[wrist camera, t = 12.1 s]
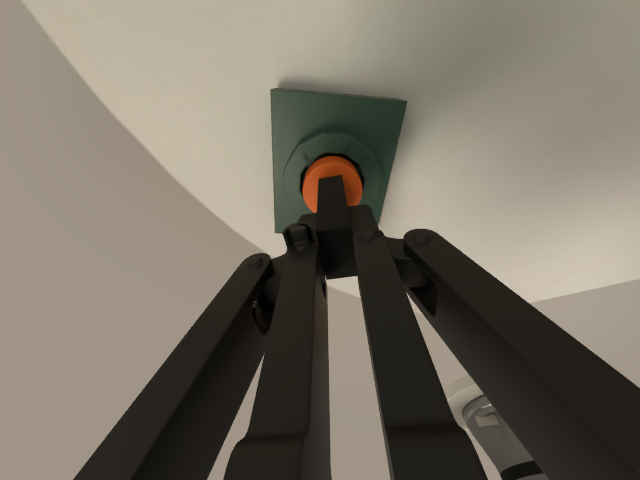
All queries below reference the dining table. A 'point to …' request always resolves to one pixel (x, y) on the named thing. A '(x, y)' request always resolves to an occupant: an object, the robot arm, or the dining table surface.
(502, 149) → the dining table surface
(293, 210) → the alarm box
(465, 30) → the dining table surface
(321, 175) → the alarm button
